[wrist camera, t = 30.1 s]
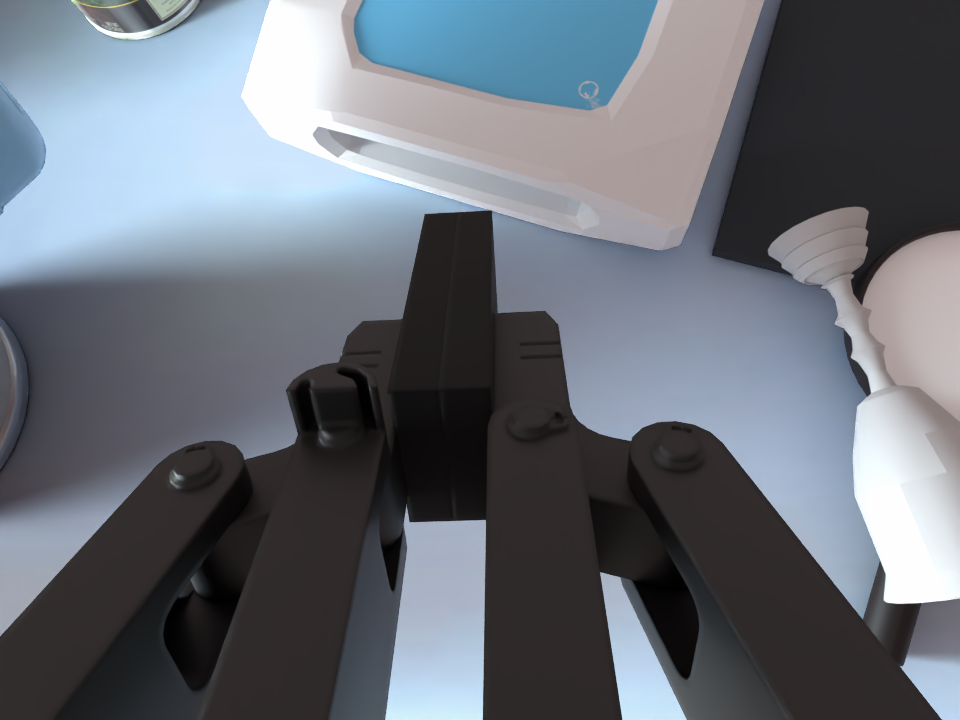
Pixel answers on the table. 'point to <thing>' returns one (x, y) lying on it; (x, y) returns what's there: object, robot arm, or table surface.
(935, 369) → the magnifying glass
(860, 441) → the chalice
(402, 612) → the table surface
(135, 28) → the coffee can
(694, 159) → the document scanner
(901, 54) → the mat
